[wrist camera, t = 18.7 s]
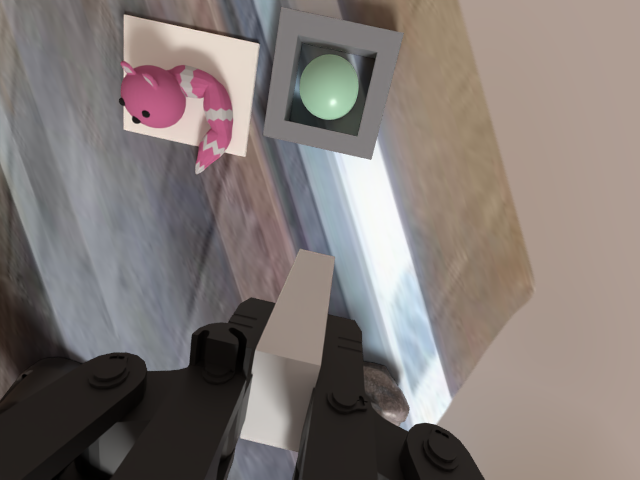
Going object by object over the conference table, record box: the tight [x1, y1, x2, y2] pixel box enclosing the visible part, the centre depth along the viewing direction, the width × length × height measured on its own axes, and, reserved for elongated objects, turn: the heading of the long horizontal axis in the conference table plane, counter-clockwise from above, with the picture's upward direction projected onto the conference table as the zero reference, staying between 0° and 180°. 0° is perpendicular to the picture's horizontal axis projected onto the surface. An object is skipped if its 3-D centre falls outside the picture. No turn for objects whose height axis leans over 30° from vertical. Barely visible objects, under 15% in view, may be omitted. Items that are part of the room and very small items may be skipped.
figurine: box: [363, 361, 409, 427], centre depth 39 cm, size 13×12×18 cm
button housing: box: [263, 7, 404, 160], centre depth 34 cm, size 12×12×3 cm
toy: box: [119, 61, 233, 174], centre depth 35 cm, size 11×9×10 cm
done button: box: [300, 54, 359, 120], centre depth 34 cm, size 6×6×3 cm
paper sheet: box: [124, 15, 260, 157], centre depth 36 cm, size 15×12×1 cm
